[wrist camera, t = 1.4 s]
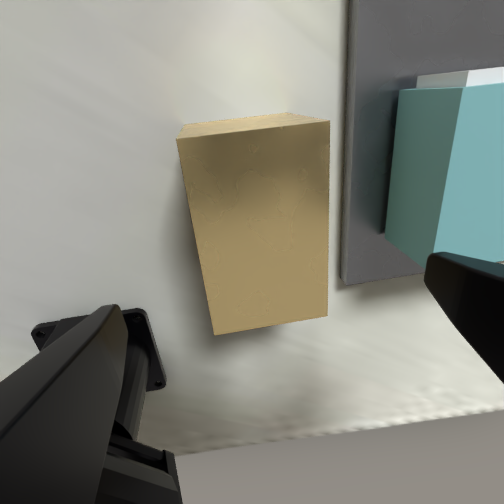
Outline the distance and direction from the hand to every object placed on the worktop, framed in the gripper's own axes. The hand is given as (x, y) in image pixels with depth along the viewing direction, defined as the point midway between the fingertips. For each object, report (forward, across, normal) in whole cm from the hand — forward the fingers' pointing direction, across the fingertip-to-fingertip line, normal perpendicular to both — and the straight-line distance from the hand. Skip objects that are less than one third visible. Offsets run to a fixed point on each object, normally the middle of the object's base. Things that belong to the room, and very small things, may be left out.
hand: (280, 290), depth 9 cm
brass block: (+9, 0, 0) cm, 9 cm away
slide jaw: (+8, -12, -1) cm, 14 cm away
